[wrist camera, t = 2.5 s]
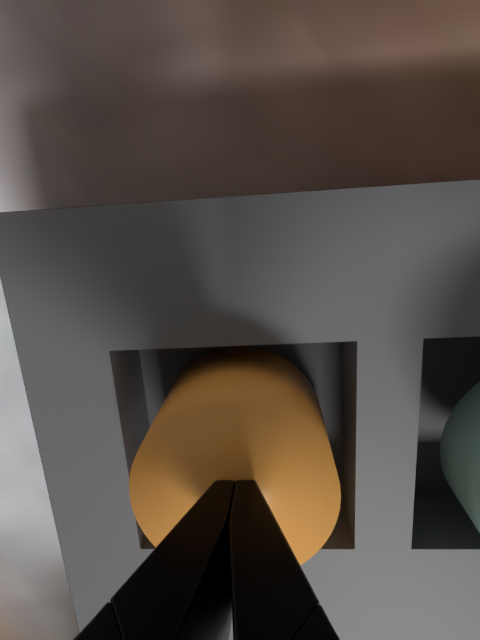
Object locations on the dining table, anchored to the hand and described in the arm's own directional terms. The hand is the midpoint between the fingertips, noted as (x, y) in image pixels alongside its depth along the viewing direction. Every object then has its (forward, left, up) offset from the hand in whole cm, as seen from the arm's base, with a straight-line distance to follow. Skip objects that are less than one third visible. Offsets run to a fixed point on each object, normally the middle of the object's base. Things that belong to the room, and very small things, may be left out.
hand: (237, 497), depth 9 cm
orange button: (0, 0, -3) cm, 3 cm away
